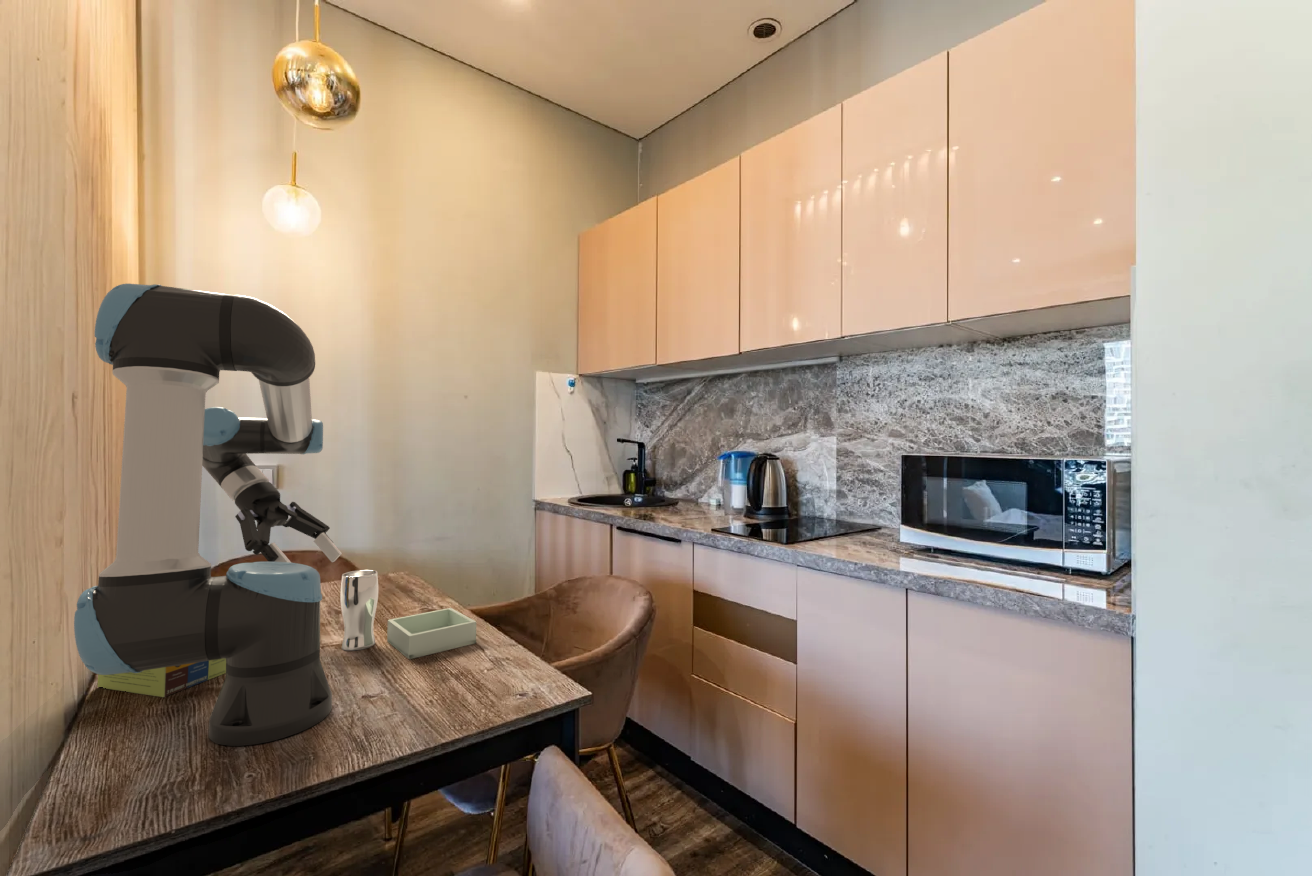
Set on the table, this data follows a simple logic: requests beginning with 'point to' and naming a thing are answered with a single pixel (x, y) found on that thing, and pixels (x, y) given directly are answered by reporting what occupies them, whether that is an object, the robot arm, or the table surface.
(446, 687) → the table surface
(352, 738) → the table surface
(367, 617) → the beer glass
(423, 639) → the bin
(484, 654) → the table surface
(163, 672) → the protein box
